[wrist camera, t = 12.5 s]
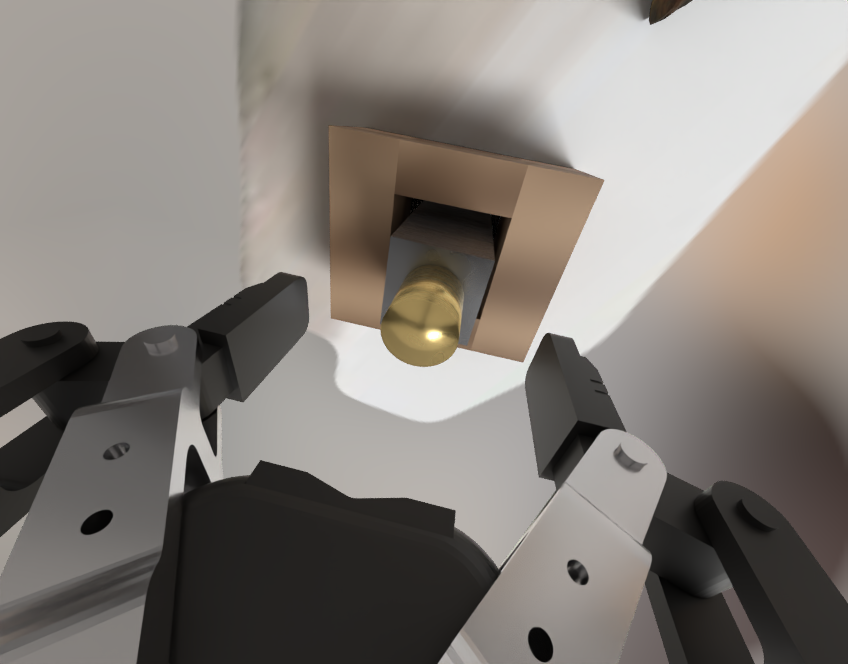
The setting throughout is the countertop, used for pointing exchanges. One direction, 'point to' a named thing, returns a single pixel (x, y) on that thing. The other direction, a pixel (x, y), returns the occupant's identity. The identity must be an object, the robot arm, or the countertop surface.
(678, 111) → the countertop surface
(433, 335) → the bit
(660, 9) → the dark brown rod
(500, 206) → the housing
